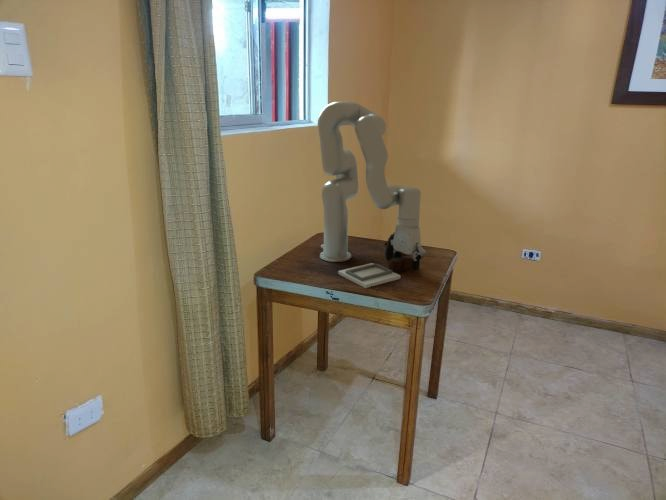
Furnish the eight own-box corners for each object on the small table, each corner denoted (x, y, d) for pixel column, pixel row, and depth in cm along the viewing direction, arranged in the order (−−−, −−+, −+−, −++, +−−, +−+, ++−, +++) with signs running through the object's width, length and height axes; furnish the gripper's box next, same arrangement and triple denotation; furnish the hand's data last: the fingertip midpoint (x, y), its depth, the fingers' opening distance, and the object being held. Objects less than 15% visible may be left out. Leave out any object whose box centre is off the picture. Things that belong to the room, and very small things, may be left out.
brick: (394, 274, 169) (395, 262, 167) (388, 270, 172) (388, 259, 170) (416, 269, 174) (417, 257, 173) (409, 265, 177) (410, 254, 176)
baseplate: (338, 273, 168) (338, 268, 167) (372, 265, 176) (372, 260, 176) (365, 288, 155) (365, 282, 155) (400, 278, 164) (400, 272, 163)
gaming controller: (389, 251, 194) (391, 228, 191) (403, 252, 192) (405, 229, 189) (380, 261, 182) (381, 236, 179) (395, 263, 180) (396, 238, 177)
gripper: (384, 218, 171) (383, 262, 176) (418, 228, 157) (415, 275, 162) (399, 216, 175) (397, 258, 180) (433, 225, 161) (430, 271, 166)
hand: (406, 266), depth 171 cm, fingers open, 9 cm apart
